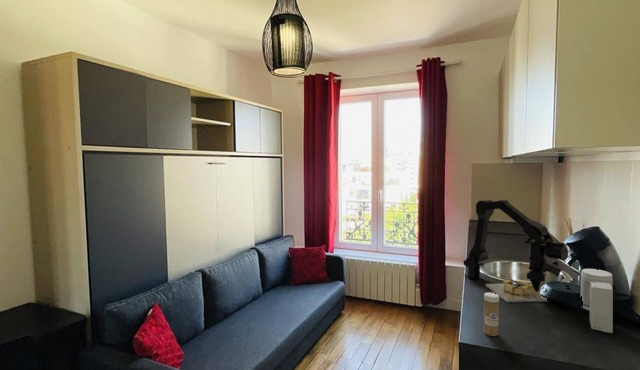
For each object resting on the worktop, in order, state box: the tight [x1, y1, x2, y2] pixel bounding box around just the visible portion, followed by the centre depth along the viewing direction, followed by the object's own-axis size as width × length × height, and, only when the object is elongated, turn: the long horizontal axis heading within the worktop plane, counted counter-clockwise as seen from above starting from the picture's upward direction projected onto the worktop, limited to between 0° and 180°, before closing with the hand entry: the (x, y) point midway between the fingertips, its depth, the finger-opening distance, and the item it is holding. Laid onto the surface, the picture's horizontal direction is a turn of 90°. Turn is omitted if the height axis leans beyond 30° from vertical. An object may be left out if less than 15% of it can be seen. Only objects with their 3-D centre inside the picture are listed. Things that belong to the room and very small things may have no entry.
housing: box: [485, 281, 548, 303], centre depth 149 cm, size 18×18×4 cm
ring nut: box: [502, 279, 542, 295], centre depth 148 cm, size 14×10×3 cm
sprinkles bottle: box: [482, 292, 500, 337], centre depth 114 cm, size 5×5×14 cm
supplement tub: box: [580, 268, 614, 312], centre depth 132 cm, size 10×10×15 cm
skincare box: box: [589, 281, 614, 334], centre depth 118 cm, size 8×6×15 cm
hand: (536, 291), depth 144 cm, fingers closed
